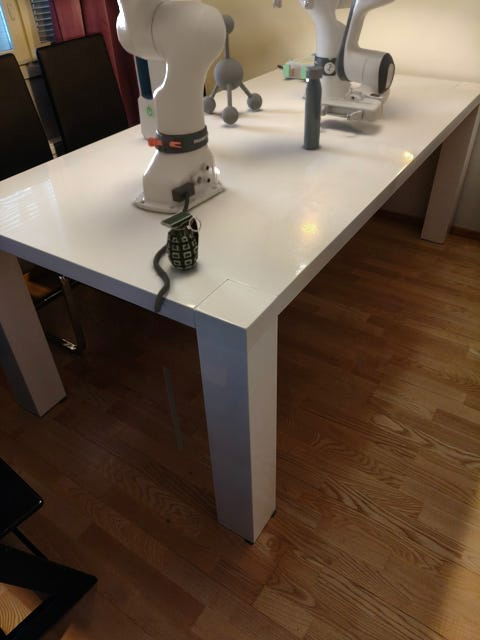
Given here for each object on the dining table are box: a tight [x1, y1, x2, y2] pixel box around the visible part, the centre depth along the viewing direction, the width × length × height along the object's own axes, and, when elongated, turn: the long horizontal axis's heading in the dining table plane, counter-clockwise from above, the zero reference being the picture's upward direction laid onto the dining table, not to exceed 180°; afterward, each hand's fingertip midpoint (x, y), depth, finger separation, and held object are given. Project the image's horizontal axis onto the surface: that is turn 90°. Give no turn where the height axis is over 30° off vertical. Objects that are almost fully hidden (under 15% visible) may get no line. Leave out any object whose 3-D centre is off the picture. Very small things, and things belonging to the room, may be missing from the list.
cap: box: [306, 66, 323, 79], centre depth 128 cm, size 4×4×2 cm
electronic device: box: [133, 55, 166, 140], centre depth 143 cm, size 12×8×30 cm, turn 47°
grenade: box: [159, 211, 202, 271], centre depth 88 cm, size 7×6×10 cm
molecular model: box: [203, 13, 263, 125], centre depth 160 cm, size 24×22×30 cm
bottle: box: [303, 79, 322, 151], centre depth 134 cm, size 4×4×20 cm
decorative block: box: [282, 52, 316, 80], centre depth 211 cm, size 26×6×20 cm
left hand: (293, 8), depth 120 cm, fingers open, 8 cm apart
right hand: (335, 115), depth 144 cm, fingers open, 8 cm apart
